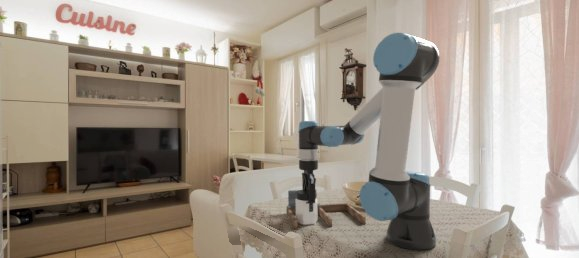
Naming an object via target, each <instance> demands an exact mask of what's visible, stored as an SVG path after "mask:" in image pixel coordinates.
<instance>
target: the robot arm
mask: <svg viewBox="0 0 579 258" xmlns="http://www.w3.org/2000/svg"><path fill="white" fill-rule="evenodd" d="M440 58H441V57H440V52H439V50H438V48H437V46H436V45H435V44H434V43H433V42H431V41H429V40H426V39H424V38H420V37H418V36H417V37H416V36H415V35H413V34H410V33H403V32H394V33H393V32H392V33H391V34H388V35H386V36H385V37H384V38H383V39H382V40H381V41H379V43H378V44H377V46H376V47H375V49H374V53H373V59H372V60H373V61H372V63H373V66H374V67H375V69H376V71H377V72H378V73H379V78H378V82H379V84H380V85H381V86H382V87H381V88H380V89H379V90H378V91H377V92H376V93H375V95H374V96H373V97H372V98H371V99H369V100H368V102H367V103H366V104H364V106H362V108H361V109H360V110H359V111H358V112H357V113H356V114H355V115H354V116H353V117H352V118H351V119H350V120H348V122H347V123H346V124H344V125H321V126H320V125H319V124H318V121H316V120H300V122H299V124H298V159H299V161H298V168H299V170H301V171H303V172H301V176H302V177H301V179H302V180H301V181H302V183H301V184H302V189H301V190H304V191H307V194H308V202H306V204H308V203H309V212H313V203H315V189H316V182H317V181H316V180H317V179H316V178H315V174H314V171H317V170H318V169H319V161H318V158H319V155H318V154H319V153H320V151H319V146H320V147H327V148H336V147H337V148H338V147H339V146H345V145H351V146H352V145H356V144H360V143H361V142H363V140H364V137H365V134H366V133H367V131H369V130H370V129H371V128H372V127H373V126H374V125H375V124H376V123H378V121H379V127H378V136H377V137H378V138H377V145H376V157H375V165H374V167H372V169H370V170H369V173H368V180H367V182H366V183H364V184H363V185H362V187H361V188H360V189H359V201H360V205H361V207H362V209H364V211H365V213H366V215H368V216H369V217H370V218H372V219H373V220H376V221H379V222H385V221H386V222H387V221H389V223H388V226H387V230H386V240H387V241H388V242H390V243H391V244H393V245H394V246H398V247H399V248H403V249H408V250H417V251H418V250H419V251H422V250H423V251H425V250H430V249H433V248H435V247H436V245H437V244H436V241H437V237H436V233H435V231H434V227H433V225H432V223H431V206H430V205H431V184H430V183H431V181H430V176H429V175H428V174H427V173H422V172H415V171H407V170H406V167H407V159H408V149H409V141H410V133H411V124H412V123H411V122H412V118H413V117H412V116H413V108H414V107H413V106H414V100H415V91H417V90H418V89H420V87H422V86H423V85H424V84H425V83H426V82H427V81H428V80H429V79H430V78H431V77H432V76H433V75H434V74H435V72H436V71H437V69H438V67H439V63H440Z"/></svg>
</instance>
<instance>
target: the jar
mask: <svg viewBox="0 0 579 258" xmlns="http://www.w3.org/2000/svg"><path fill="white" fill-rule="evenodd" d="M297 190H298V191H297V192H296V199H295V201H296V214H295V218H296V220H297V224H301V225H303V226H306V225H309V226H310V225H315V224H316V223H317V221H318V219H319V218H318V217H319V214H318V207H317V204H318V197H317V196H318V195H317V190H316V191H315V203H313V212H309V203H308V204H306V202H308V194H307V191H304V190H303V189H297Z"/></svg>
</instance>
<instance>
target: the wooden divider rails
mask: <svg viewBox="0 0 579 258" xmlns="http://www.w3.org/2000/svg"><path fill="white" fill-rule="evenodd" d="M298 190H299V189H295V190H292V189H291V190H290V189H288V193H287V194H288V197H287V199H288V205H286V216H287V217H288V220H289V221H290V223H291V225H292V226H293V229H294V230H298V223H297V220H296V216H295V215H296V201H295V199H296V192H297V191H298ZM315 191H316V192H317V189H316V188H315ZM317 207H318V216H320V218H321V219H322V220H323V221H324V222H325V223H326V225H327V226H328V227H329V228H332V227H333V218H332V217H331V216H330V215H329V214H328V212H329V213H331V212H344V211H345V212H347V213H348V214H349V215H350V216H352V217H353V218H355V219H356V220H357V221H358V222H360V224H362V225H366V224H367V223H366V215H364V214H363V213H361V212H360V211H358V210H357V209H356V208H355V207H353V206H352V205H350V204H349V203H348V202H347V203H333V204H332V203H331V204H320V203H317Z"/></svg>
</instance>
